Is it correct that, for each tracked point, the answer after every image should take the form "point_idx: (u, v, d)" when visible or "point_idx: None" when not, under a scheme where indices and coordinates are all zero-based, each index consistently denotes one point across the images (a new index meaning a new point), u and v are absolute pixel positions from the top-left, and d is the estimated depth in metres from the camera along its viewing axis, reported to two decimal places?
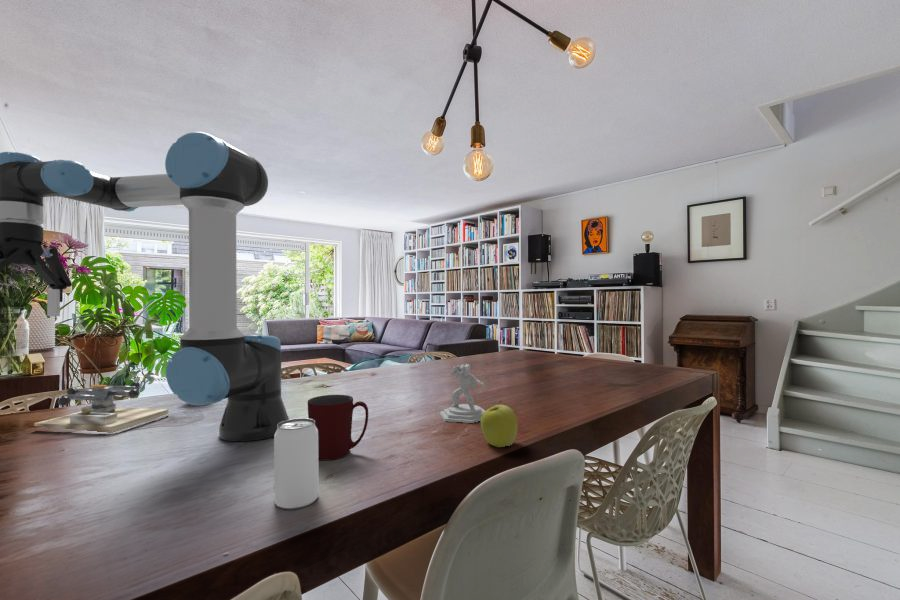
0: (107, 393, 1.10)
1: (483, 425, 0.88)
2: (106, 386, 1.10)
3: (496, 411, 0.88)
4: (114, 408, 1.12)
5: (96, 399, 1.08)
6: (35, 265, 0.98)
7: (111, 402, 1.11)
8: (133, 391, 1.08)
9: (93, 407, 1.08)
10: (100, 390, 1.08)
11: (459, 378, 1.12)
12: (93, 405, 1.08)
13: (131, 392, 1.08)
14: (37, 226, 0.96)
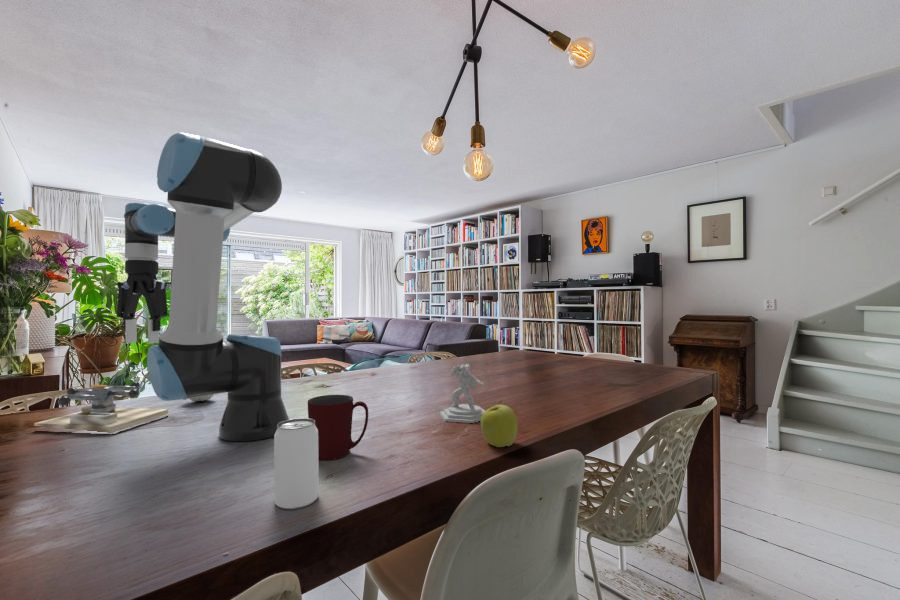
0: (107, 393, 1.10)
1: (483, 425, 0.88)
2: (106, 386, 1.10)
3: (496, 411, 0.88)
4: (114, 408, 1.12)
5: (96, 399, 1.08)
6: None
7: (111, 402, 1.11)
8: (133, 391, 1.08)
9: (93, 407, 1.08)
10: (100, 390, 1.08)
11: (459, 378, 1.12)
12: (93, 405, 1.08)
13: (131, 392, 1.08)
14: (134, 261, 1.13)
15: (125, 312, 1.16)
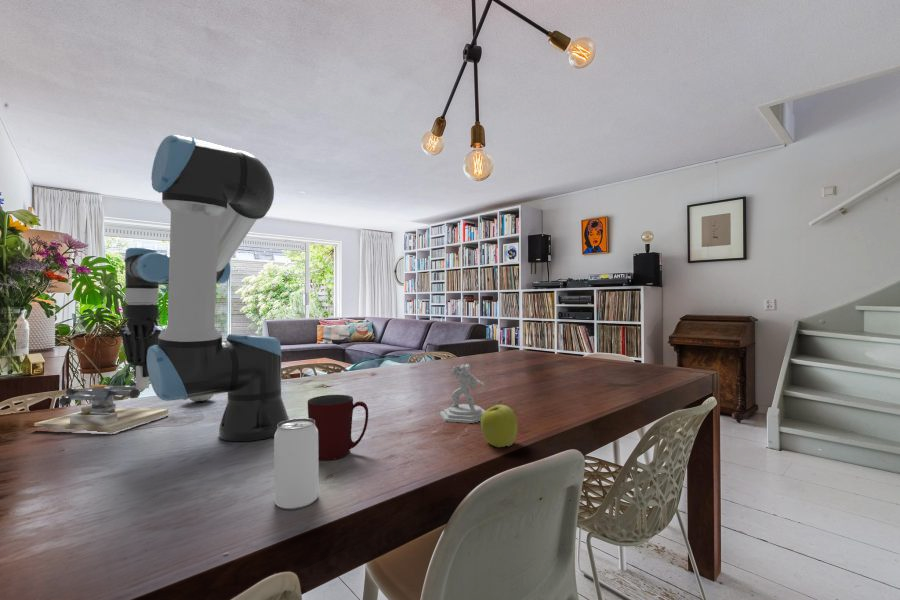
0: (108, 393, 1.10)
1: (483, 425, 0.88)
2: (106, 386, 1.10)
3: (496, 411, 0.88)
4: (114, 408, 1.12)
5: (96, 399, 1.08)
6: None
7: (111, 402, 1.11)
8: (134, 391, 1.09)
9: (93, 407, 1.08)
10: (100, 390, 1.09)
11: (459, 378, 1.12)
12: (93, 405, 1.08)
13: (132, 392, 1.08)
14: (134, 306, 1.13)
15: (134, 358, 1.16)
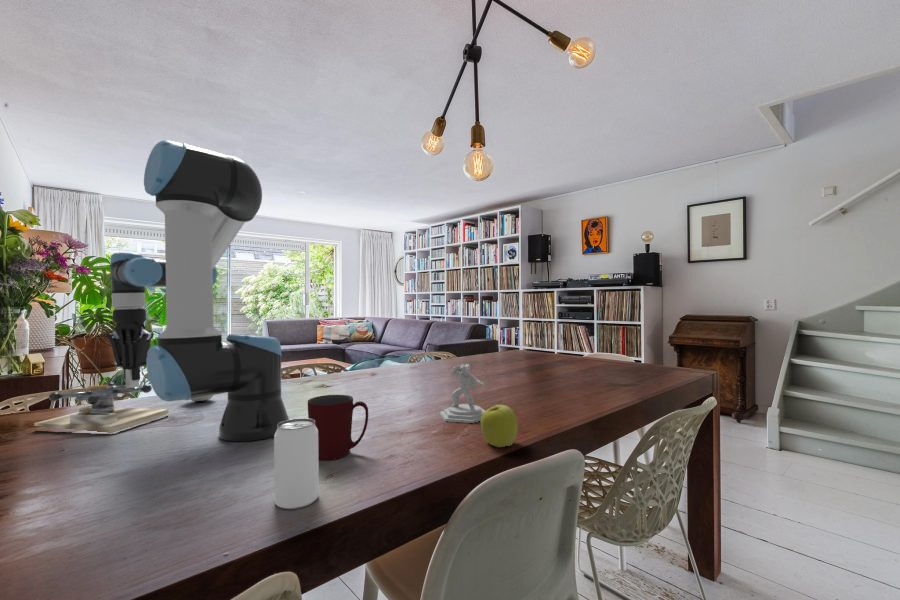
0: (112, 391, 1.11)
1: (483, 425, 0.88)
2: (107, 386, 1.11)
3: (496, 411, 0.88)
4: None
5: (102, 398, 1.09)
6: None
7: None
8: (148, 386, 1.15)
9: (99, 407, 1.08)
10: (107, 389, 1.10)
11: (459, 378, 1.12)
12: (99, 405, 1.08)
13: (147, 387, 1.14)
14: (121, 311, 1.15)
15: (123, 362, 1.17)
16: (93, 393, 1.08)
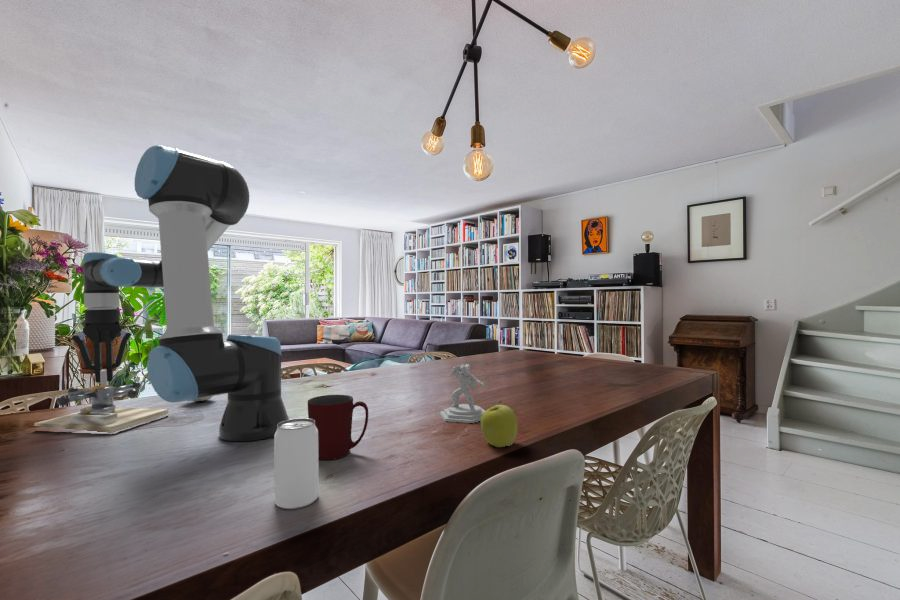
0: (112, 390, 1.13)
1: (483, 425, 0.88)
2: None
3: (496, 411, 0.88)
4: None
5: None
6: None
7: None
8: None
9: (108, 406, 1.10)
10: (113, 388, 1.11)
11: (459, 378, 1.12)
12: (108, 404, 1.10)
13: (139, 383, 1.20)
14: (105, 311, 1.14)
15: (96, 363, 1.15)
16: (101, 393, 1.09)
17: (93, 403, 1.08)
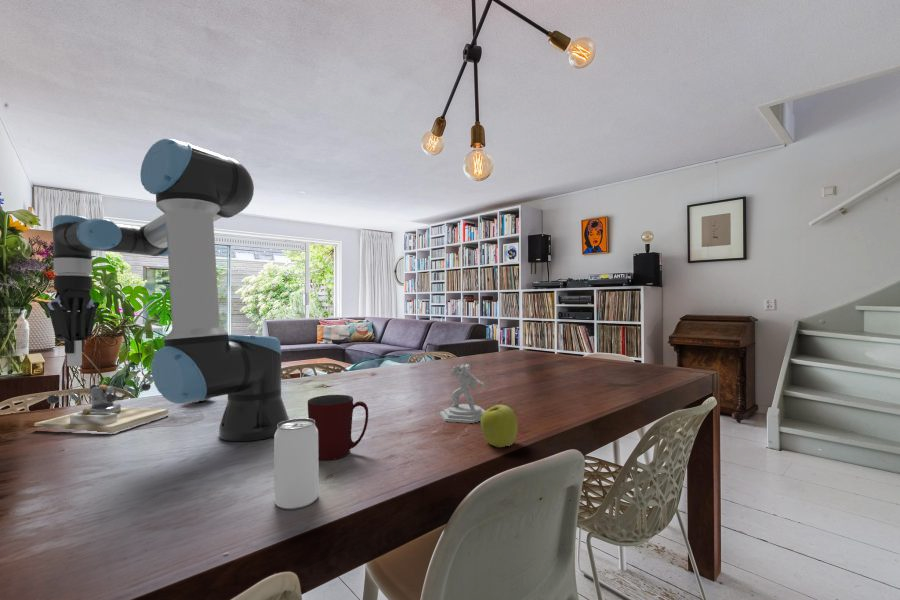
0: None
1: (483, 425, 0.88)
2: None
3: (496, 411, 0.88)
4: None
5: None
6: (76, 312, 1.10)
7: None
8: None
9: (113, 404, 1.12)
10: None
11: (459, 378, 1.12)
12: None
13: None
14: (89, 277, 1.11)
15: (73, 333, 1.08)
16: (111, 391, 1.11)
17: (103, 403, 1.09)
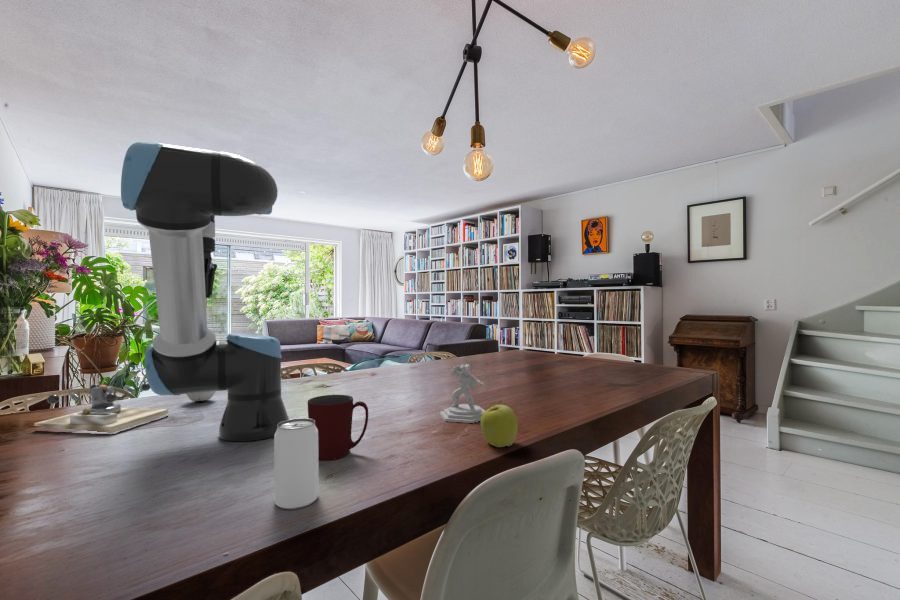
0: None
1: (483, 425, 0.88)
2: None
3: (496, 411, 0.88)
4: None
5: None
6: None
7: None
8: None
9: (113, 404, 1.12)
10: None
11: (459, 378, 1.12)
12: None
13: None
14: (213, 239, 1.20)
15: None
16: (111, 391, 1.11)
17: (103, 403, 1.09)
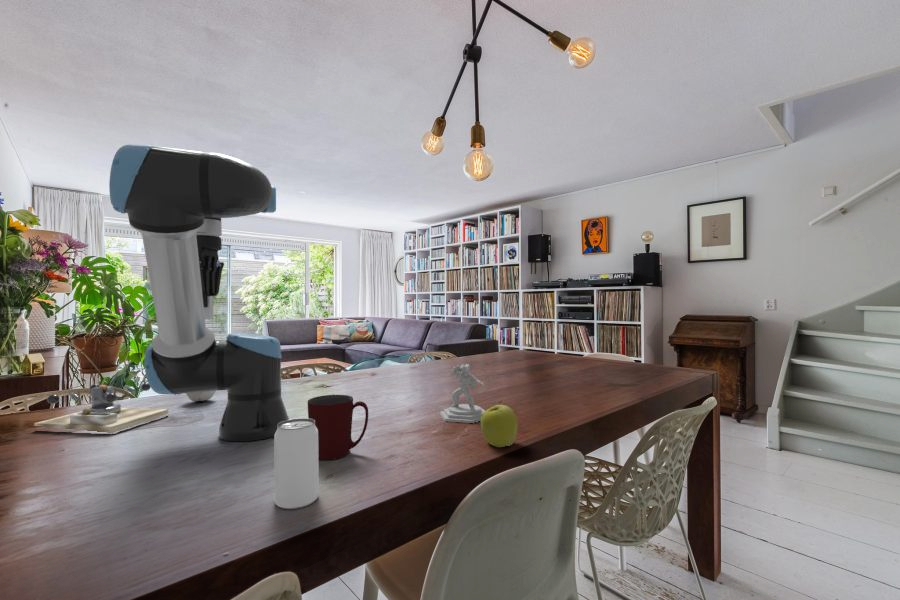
0: None
1: (483, 425, 0.88)
2: None
3: (496, 411, 0.88)
4: None
5: None
6: None
7: None
8: None
9: (113, 404, 1.12)
10: None
11: (459, 378, 1.12)
12: None
13: None
14: (220, 238, 1.20)
15: (207, 288, 1.18)
16: (111, 391, 1.11)
17: (103, 403, 1.09)
